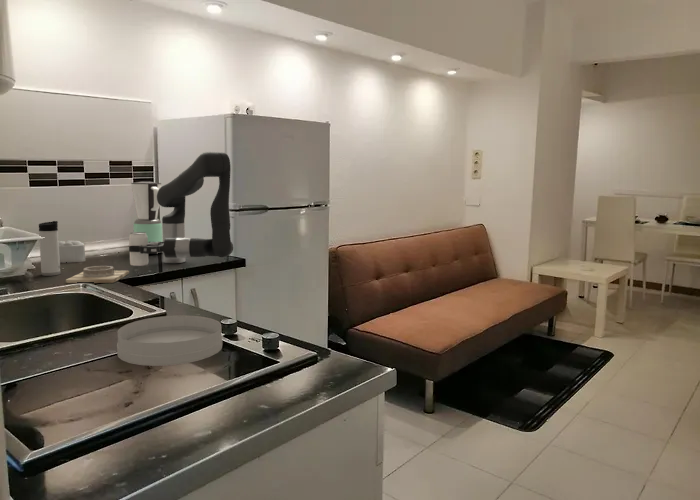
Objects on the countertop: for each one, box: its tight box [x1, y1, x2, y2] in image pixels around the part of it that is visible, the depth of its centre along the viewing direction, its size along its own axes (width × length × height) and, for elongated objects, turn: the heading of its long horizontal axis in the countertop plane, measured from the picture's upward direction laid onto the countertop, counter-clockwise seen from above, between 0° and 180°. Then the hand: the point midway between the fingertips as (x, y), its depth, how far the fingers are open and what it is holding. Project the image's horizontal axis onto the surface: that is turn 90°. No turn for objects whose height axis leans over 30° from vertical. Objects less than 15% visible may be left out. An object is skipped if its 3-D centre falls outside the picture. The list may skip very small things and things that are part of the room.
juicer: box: [130, 180, 163, 255], centre depth 258 cm, size 19×13×35 cm
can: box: [128, 231, 149, 267], centre depth 201 cm, size 6×6×12 cm
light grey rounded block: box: [59, 239, 86, 264], centre depth 236 cm, size 10×13×9 cm
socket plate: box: [65, 265, 130, 284], centre depth 198 cm, size 18×16×4 cm
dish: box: [116, 314, 223, 367], centre depth 119 cm, size 22×22×5 cm
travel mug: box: [38, 220, 61, 277], centre depth 203 cm, size 6×7×20 cm
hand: (132, 247), depth 200 cm, fingers closed on can, 6 cm apart
